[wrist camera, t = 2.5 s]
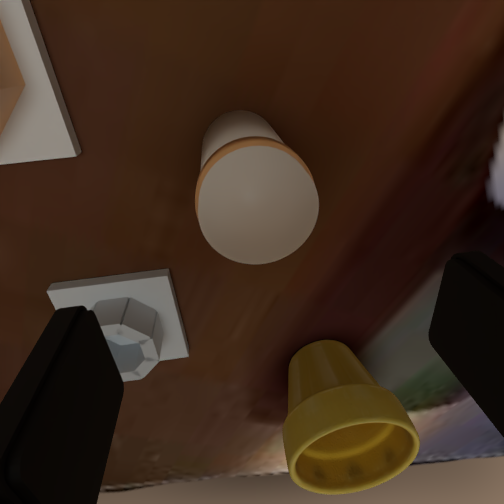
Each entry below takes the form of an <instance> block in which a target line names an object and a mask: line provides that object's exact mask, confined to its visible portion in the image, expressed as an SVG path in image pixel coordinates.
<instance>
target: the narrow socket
mask: <svg viewBox="0 0 504 504" xmlns="http://www.w3.org/2000/svg"><path fill="white" fill-rule="evenodd" d="M47 293H48V295H49V297H50V299H51V301H52V303H53V305H54V307H55V309H56V310H57V309H59V308H66V307H73V306H80V305H82V306H85V307H86V308H87V310H93V311H94V313H95V315H96V317H97V319H98V322H99V324H100V327H101V329H102V331H103V334H104V336H105V339H106V341H107V343H108V346H109V348H110V351H111V353H112V356H113V358H114V360H115V363H116V365H117V368H118V370H119V372H120V375H121V377H122V380H123V382H124V381H131V380H138V379H141V378H144V377H145V376H146V375H147V374H148V372H149V371H150V370H151V369H152V368H153V367H154V366H155V365H156V364H157V363H158V362H159V361H162V360H169V359H176V358H183V357H189V346H188V342H187V338H186V334H185V330H184V326H183V322H182V318H181V315H180V311H179V307H178V303H177V299H176V295H175V291H174V287H173V283H172V279H171V275H170V271H169V268H168V269H160V270H152V271H144V272H136V273H128V274H121V275H113V276H105V277H97V278H89V279H81V280H73V281H66V282H58V283H52V284H51V285H50V287H49V288H48V290H47Z"/></svg>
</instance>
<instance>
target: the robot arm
mask: <svg viewBox="0 0 504 504" xmlns="http://www.w3.org/2000/svg"><path fill="white" fill-rule="evenodd" d="M428 335H429V341H430V343H431V345H432V347H433V348H434V349H435V351H436V352H437V353H438V354H439V356H440V357H441V358H442V360H443V361H444V362H445V363H446V365H447V366H448V367H449V368H450V370H451V371H452V372H453V374H454V375H455V376H456V377H457V379H458V380H459V381H460V382H461V384H462V385H463V386H464V388H465V389H466V390H467V391H468V393H469V394H470V395H471V396H472V398H473V399H474V400H475V402H476V403H477V404H478V405H479V407H480V408H481V409H482V410H483V412H484V413H485V414H486V416H487V417H488V418H489V419H490V421H491V422H492V423H493V424H494V426H495V427H496V428H497V430H498V431H499V432H500V433H501V435H502V436H503V437H504V267H502V266H501V265H499V264H498V263H497V262H495V261H494V260H492V259H491V258H489V257H488V256H487V255H485V254H484V253H482V252H480V251H471V252H464V253H457V254H454V255H453V256H452V257H451V260H449V261H447V263H446V265H445V269H444V273H443V277H442V281H441V285H440V289H439V293H438V297H437V301H436V305H435V309H434V313H433V317H432V321H431V325H430V329H429V334H428ZM123 392H124V384H123V380H122V377H121V375H120V372H119V370H118V368H117V365H116V363H115V360H114V358H113V356H112V353H111V351H110V348H109V346H108V343H107V341H106V339H105V336H104V334H103V331H102V329H101V327H100V324H99V322H98V319H97V317H96V315H95V313H94V311H93V310H87V308H86V307H85V306H82V305H80V306H73V307H66V308H59V309H57V310H56V311H55V313H54V314H53V316H52V318H51V319H50V321H49V323H48V325H47V326H46V328H45V330H44V331H43V333H42V335H41V336H40V338H39V340H38V341H37V343H36V345H35V346H34V348H33V350H32V352H31V353H30V355H29V357H28V358H27V360H26V362H25V363H24V365H23V367H22V368H21V370H20V372H19V373H18V375H17V377H16V379H15V380H14V382H13V384H12V385H11V387H10V389H9V390H8V392H7V394H6V395H5V397H4V399H3V400H2V402H1V404H0V504H97V499H98V495H99V491H100V487H101V483H102V479H103V475H104V471H105V467H106V463H107V459H108V454H109V450H110V446H111V442H112V438H113V434H114V430H115V426H116V422H117V418H118V414H119V409H120V405H121V401H122V397H123Z"/></svg>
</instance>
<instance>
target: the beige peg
mask: <svg viewBox="0 0 504 504" xmlns="http://www.w3.org/2000/svg"><path fill="white" fill-rule="evenodd" d="M195 208H196V214H197V218H198V220H199V224H200V228H201V230H202V233H203V235H204V237H205V238H206V240H207V241H208V243H209V244H210V245H211V246H212V247H213V248H214V249H215V250H216V251H217V252H218V253H220V254H221V255H223V256H225V257H226V258H228V259H231V260H233V261H236V262H240V263H245V264H265V263H270V262H274V261H277V260H280V259H282V258H284V257H286V256H288V255H290V254H291V253H293V252H294V251H295V250H297V249H298V248H299V247H300V246H301V245H302V244H303V243H304V242H305V241H306V240H307V238H308V237H309V235H310V234H311V232H312V230H313V228H314V226H315V223H316V221H317V217H318V211H319V199H318V193H317V190H316V187H315V184H314V180H313V177H312V175H311V173H310V171H309V169H308V167H307V166H306V165H305V163H304V162H303V161H302V159H301V158H300V157H299V156H298V155H297V154H296V153H295V152H294V151H293V150H292V149H291V148H290V147H288V146H287V145H285V144H284V142H283V141H282V140H281V139H280V137H279V136H278V135H277V134H276V132H275V131H274V130H273V128H272V127H271V126H270V125H269V123H268V122H267V121H266V120H265V119H263V118H262V117H261V116H259V115H258V114H256V113H253V112H250V111H246V110H235V111H230V112H227V113H225V114H222V115H221V116H219V117H218V118H216V119H215V120H214V121H213V122H212V123H211V124H210V126H209V127H208V129H207V131H206V133H205V135H204V138H203V143H202V156H201V171H200V173H199V177H198V180H197V185H196V193H195Z"/></svg>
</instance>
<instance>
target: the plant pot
mask: <svg viewBox="0 0 504 504" xmlns="http://www.w3.org/2000/svg"><path fill="white" fill-rule="evenodd" d="M283 441H284V449H285V454H286V460H287V465H288V470H289V474H290V476H291V478H292V480H293V481H294V482H295V483H296V484H297V485H298V486H300V487H301V488H303V489H305V490H308V491H311V492H315V493H320V494H346V493H352V492H358V491H362V490H365V489H368V488H372V487H374V486H377V485H379V484H382V483H384V482H386V481H388V480H390V479H392V478H393V477H395V476H396V475H398V474H399V473H400V472H402V471H403V470H405V469H406V468H407V467H408V466H409V465H410V464H411V463H412V462H413V460H414V459H415V457H416V456H417V454H418V451H419V447H420V440H419V435H418V433H417V431H416V429H415V427H414V425H413V423H412V421H411V420H410V418H409V416H408V415H407V413H406V411H405V409H404V408H403V406H402V405H401V403H400V402H399V400H398V399H397V397H396V396H395V395H394V394H393V393H392V392H390V391H389V390H387V389H385V388H383V387H380V385H379V384H378V383H377V382H376V381H375V379H374V378H373V377H372V376H371V374H370V373H369V372H368V371H367V370H366V368H365V367H364V366H363V365H362V364H361V362H360V361H359V360H358V359H357V357H356V356H355V355H354V354H353V352H352V351H351V350H350V349H349V348H348V347H347V346H346V345H345V344H343V343H341V342H338V341H335V340H320V341H316V342H313V343H310V344H308V345H306V346H304V347H303V348H301V349H300V350H299V351H298V352H296V354H295V355H294V356H293V357H292V359H291V361H290V364H289V373H288V416H287V418H286V419H285V422H284V425H283Z"/></svg>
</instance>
